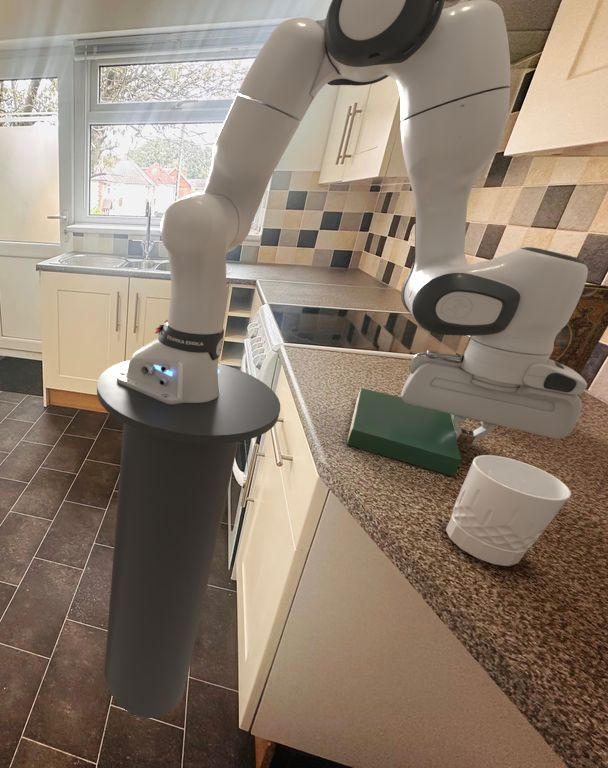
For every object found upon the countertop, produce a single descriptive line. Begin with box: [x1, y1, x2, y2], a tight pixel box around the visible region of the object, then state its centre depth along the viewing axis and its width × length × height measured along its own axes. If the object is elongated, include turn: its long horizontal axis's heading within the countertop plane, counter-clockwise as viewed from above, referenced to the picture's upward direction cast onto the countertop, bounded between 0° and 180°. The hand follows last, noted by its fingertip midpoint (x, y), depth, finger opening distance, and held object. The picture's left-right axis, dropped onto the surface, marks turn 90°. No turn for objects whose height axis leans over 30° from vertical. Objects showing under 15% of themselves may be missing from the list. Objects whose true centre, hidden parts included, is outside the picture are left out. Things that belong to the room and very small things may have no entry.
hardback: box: [346, 387, 462, 477], centre depth 72 cm, size 14×20×3 cm
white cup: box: [445, 454, 572, 567], centre depth 47 cm, size 8×8×10 cm
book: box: [461, 283, 608, 375], centre depth 77 cm, size 16×6×25 cm, turn 73°
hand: (462, 441), depth 68 cm, fingers closed
